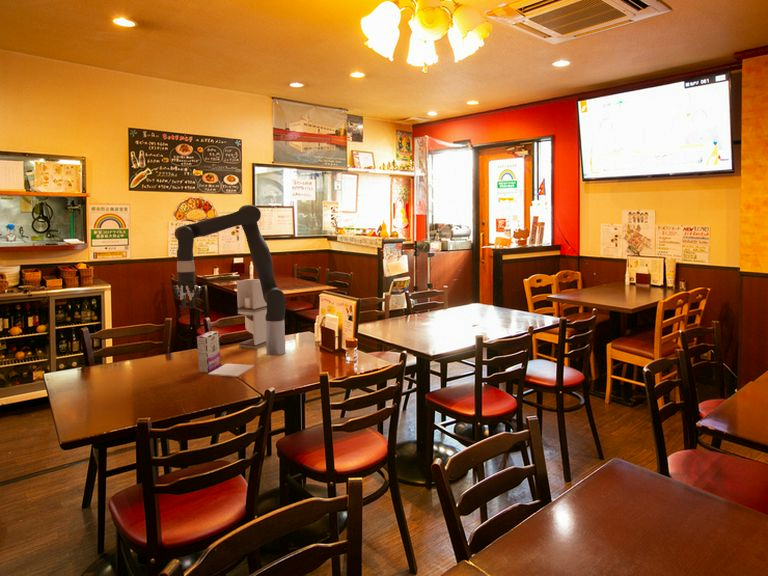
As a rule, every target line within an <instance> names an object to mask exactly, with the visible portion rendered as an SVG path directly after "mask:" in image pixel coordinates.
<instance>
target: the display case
mask: <svg viewBox="0 0 768 576" xmlns="http://www.w3.org/2000/svg"><path fill="white" fill-rule="evenodd" d="M236 296H237V297H236V298H237V300H236V302H237V314H238V315H244V322H245V326H244V327H245V330H246V332H248V333H250V334H252V338H251V339H246V340H244V341H241V342H239V346H238V347H239V348H246V349H254V350H255V349H256V350H257V349H259V348H262V347H264V346H266V319H265V316H266V313H267V303H266V302H265V301H264V298H263V293H262V288H261V283H260V280H259V278H256V279H255V278H248V279H242V280H237V281H236Z"/></svg>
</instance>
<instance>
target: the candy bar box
mask: <svg viewBox="0 0 768 576" xmlns="http://www.w3.org/2000/svg"><path fill="white" fill-rule="evenodd" d="M219 334H220V332H219V331H216V330H215V331H213V330H211V331H207V332H205V333H203V334H201V335H198V336H196V341H197V343H196V344H197V345H196V346H197V358H198V360H197V361H198V371H199V373H210V372H212V371H214V370H216V369H218V368H219V367H221V366H222V364H221V351H220V350H221V349H220V335H219Z"/></svg>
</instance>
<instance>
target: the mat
mask: <svg viewBox="0 0 768 576" xmlns="http://www.w3.org/2000/svg"><path fill="white" fill-rule="evenodd" d="M253 368H255V365H253V364H241V363H237V364H236V363H225V364H223V365H221V366H219V367H218V368H216V369H214V370H213V371H211V372H209V373H208V376H218V377H219V376H222V377H231V378H232V377H235V378H238V377H240V376H241V375H243V374H245V373H246V372H248V371H250V370H252V369H253Z"/></svg>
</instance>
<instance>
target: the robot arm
mask: <svg viewBox="0 0 768 576" xmlns="http://www.w3.org/2000/svg"><path fill="white" fill-rule="evenodd" d="M261 217H262V213H261V210H260V208H259V207H257V206H256V205H254V204H253V205H252V204H246V205H242V206H241V207H239V209H238V210H237V211H235V212H231V213H229V214H223V215H220V216H219V215H218V216H215V217H210V218H207V219H204V220H200V221H197V222H195V223H190V224H184V225H181V226H178V227H177V228H176V229H175V230H174V237H175V239H176V240H177V250H176V260H177V262H176V273H177V274H176V275H177V277H176V278H177V284H176V285H173V286H171V287H172V290H173V292H174V294H175V297H176V299H179V300H180V306H181V308H182V309H185V308H187V299H186V297H187V296H188V297H189V298H188V299H189V301H188V302H189V308H190V309H194V308H195V303H196V302H195V301H196V300H195V299H198V298H199V297H200V293H201V290H202V286H199V285H197V283H196V269H195V268H196V266H195V261H194V259H195V257H194V241H195V239H197V238H200V237H201V238H202V237H207V236H209V235H213V234H215V233H216V234H217V233H219V232H221V231H224V230H227V229H231V228H234V227H239V226H241V227H242V231H243V232H244V235H245V239H246V241H247V247H248V250H249V253H250V257H251V260H252V263H253V266H254V269H255V272H256V274H257V277H258V279H259V280H260V283H261V288H262V293H263V298H264V301H265V302H266V303H267V313H266V316H265V319H266V345H265V346H266V349H265V350H266V355H267V356H280V355H284V354H286V338H285V337H286V334H285V330H286V329H285V327H286V326H285V315H286V295H285V293H284V292H283V290H282V289H279V287H278V284H277V283H276V279H275V275H274V263H273V258H272V255H271V252H270V247H269V246H268V244H267V242H266V240H265V238H264V237H263V235H262V233H261V231H260V229H259V224H258V222H259V221H260V220H261Z"/></svg>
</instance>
